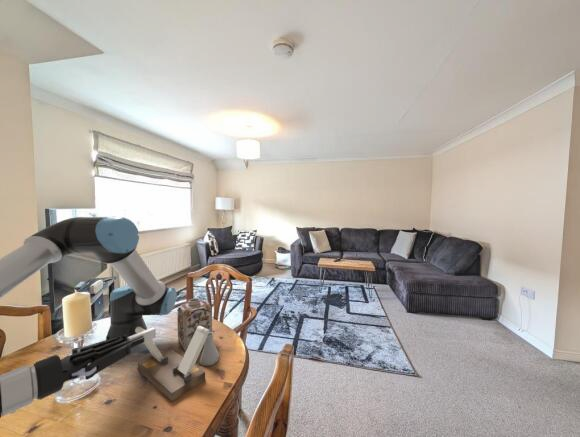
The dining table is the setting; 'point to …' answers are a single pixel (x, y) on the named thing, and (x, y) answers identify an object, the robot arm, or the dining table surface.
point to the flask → (209, 352)
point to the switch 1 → (151, 346)
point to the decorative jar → (193, 319)
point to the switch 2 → (193, 350)
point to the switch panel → (170, 374)
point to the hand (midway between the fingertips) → (154, 332)
